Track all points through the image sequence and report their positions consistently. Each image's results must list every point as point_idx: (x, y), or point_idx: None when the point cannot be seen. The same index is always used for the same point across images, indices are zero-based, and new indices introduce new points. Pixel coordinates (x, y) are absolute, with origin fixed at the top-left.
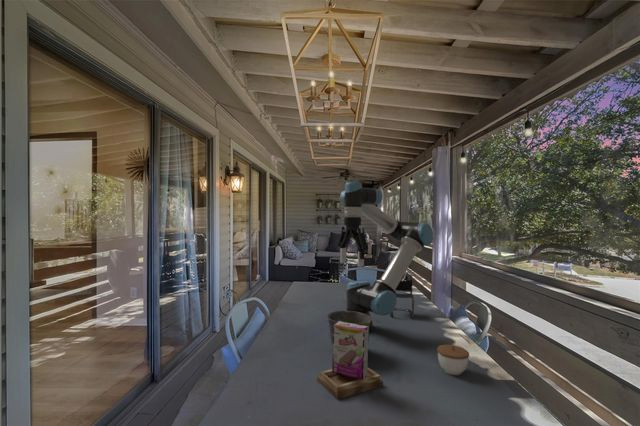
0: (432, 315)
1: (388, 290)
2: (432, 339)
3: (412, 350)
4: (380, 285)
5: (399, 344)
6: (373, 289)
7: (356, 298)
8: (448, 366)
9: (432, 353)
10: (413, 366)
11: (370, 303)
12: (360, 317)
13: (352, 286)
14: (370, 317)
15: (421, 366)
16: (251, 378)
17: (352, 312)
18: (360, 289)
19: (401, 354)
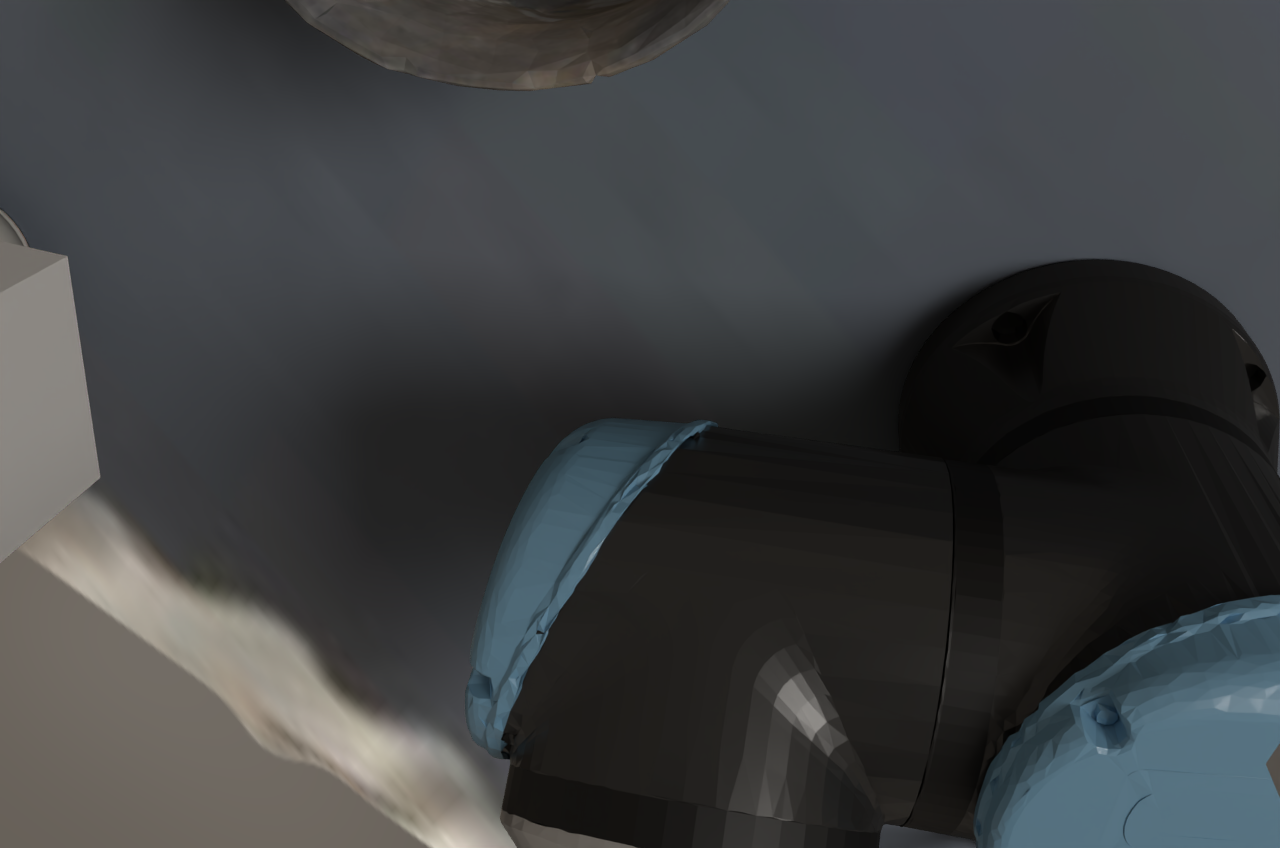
0: None
1: (521, 741)
2: (435, 627)
3: (354, 338)
4: (615, 764)
5: (497, 361)
6: (712, 660)
7: (1031, 497)
8: None
9: (247, 404)
10: (124, 79)
11: (701, 448)
12: (563, 42)
13: (1199, 641)
14: (321, 19)
15: (104, 133)
16: None
17: (687, 10)
18: (1008, 639)
19: (336, 197)
